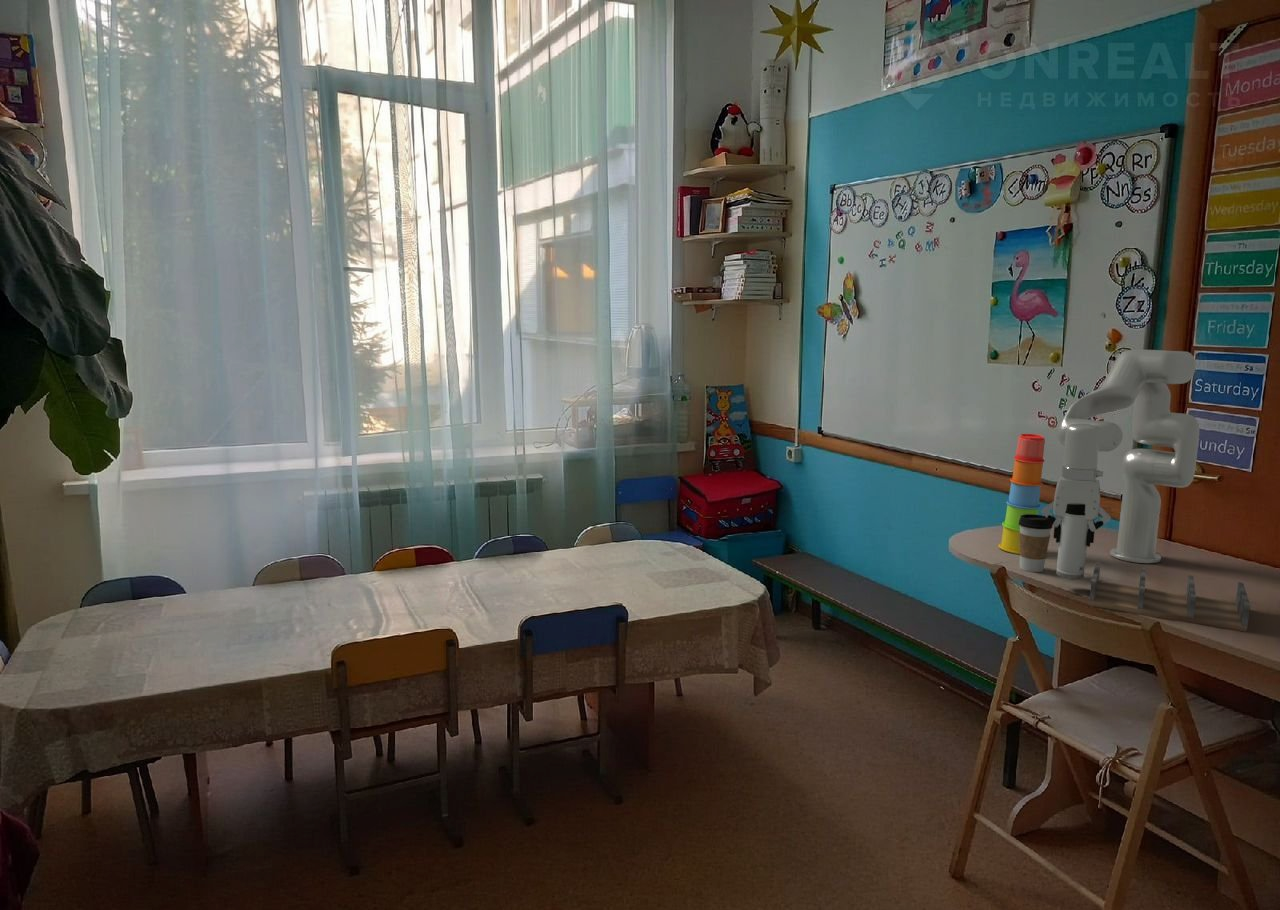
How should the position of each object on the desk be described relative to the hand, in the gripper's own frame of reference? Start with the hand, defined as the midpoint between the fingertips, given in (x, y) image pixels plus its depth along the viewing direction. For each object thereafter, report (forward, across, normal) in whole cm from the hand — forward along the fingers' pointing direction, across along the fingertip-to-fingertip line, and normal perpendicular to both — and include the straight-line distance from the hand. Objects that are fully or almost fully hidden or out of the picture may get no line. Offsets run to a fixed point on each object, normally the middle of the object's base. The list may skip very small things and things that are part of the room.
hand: (1073, 542), depth 210 cm
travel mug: (+9, 0, 0) cm, 9 cm away
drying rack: (+12, -21, +2) cm, 24 cm away
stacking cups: (+13, +16, -31) cm, 37 cm away
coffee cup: (+13, +10, -13) cm, 21 cm away
